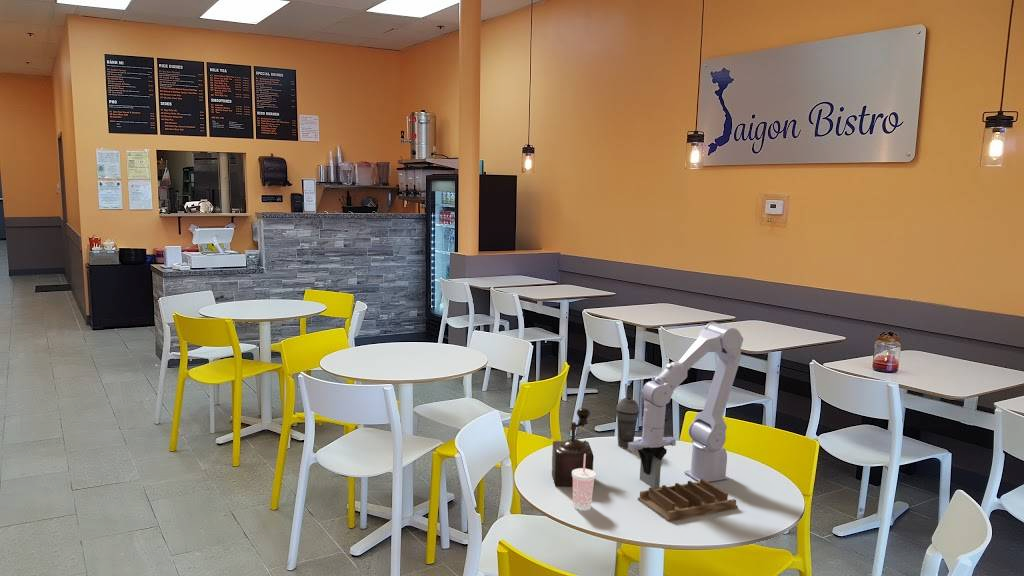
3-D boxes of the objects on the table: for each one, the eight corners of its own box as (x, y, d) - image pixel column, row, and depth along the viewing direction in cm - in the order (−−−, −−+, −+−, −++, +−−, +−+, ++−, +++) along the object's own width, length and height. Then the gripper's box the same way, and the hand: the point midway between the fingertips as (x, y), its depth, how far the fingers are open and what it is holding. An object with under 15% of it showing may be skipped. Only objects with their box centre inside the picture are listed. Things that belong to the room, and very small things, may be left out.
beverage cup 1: (598, 506, 183) (601, 454, 181) (584, 514, 178) (588, 460, 176) (578, 499, 187) (581, 447, 185) (565, 506, 182) (567, 453, 180)
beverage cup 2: (631, 451, 222) (635, 389, 219) (609, 446, 225) (613, 384, 223) (640, 445, 228) (644, 384, 225) (619, 440, 232) (623, 380, 229)
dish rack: (704, 487, 197) (705, 475, 196) (737, 508, 185) (738, 494, 185) (637, 499, 188) (638, 486, 187) (668, 521, 176) (669, 507, 176)
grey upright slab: (644, 478, 202) (646, 451, 200) (659, 488, 195) (661, 460, 194) (639, 479, 201) (641, 452, 200) (654, 489, 195) (656, 461, 194)
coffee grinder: (595, 487, 194) (599, 424, 191) (554, 487, 193) (557, 423, 191) (586, 465, 209) (590, 406, 207) (548, 464, 209) (551, 405, 206)
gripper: (666, 418, 202) (662, 464, 204) (623, 423, 196) (619, 470, 198) (682, 426, 196) (678, 473, 198) (637, 431, 190) (634, 480, 192)
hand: (650, 472), depth 198 cm, fingers closed on grey upright slab, 2 cm apart
